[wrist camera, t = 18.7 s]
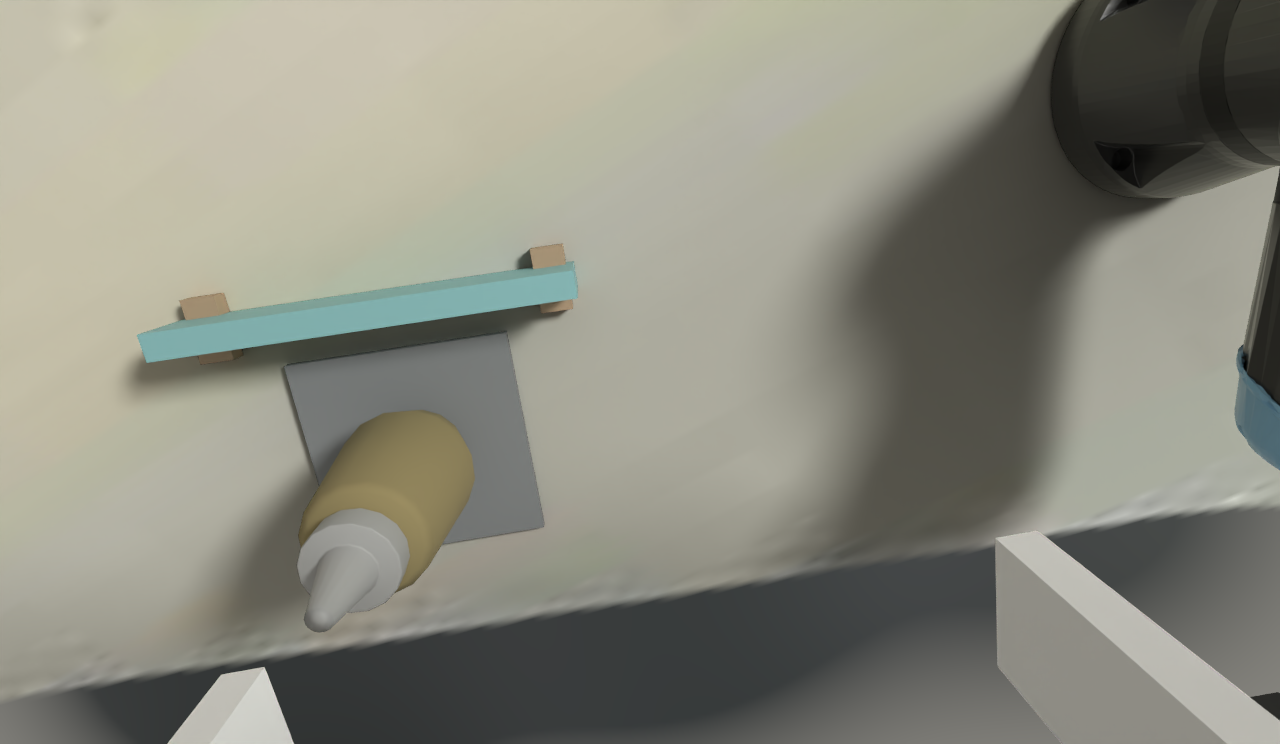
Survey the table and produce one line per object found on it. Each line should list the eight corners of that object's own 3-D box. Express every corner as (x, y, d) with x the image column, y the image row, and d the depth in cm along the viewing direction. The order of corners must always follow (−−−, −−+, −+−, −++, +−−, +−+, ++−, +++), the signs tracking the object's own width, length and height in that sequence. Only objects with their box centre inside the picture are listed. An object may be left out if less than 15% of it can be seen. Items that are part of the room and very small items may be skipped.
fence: (182, 298, 41) (129, 313, 36) (570, 242, 42) (569, 249, 37) (203, 361, 42) (154, 383, 37) (580, 304, 43) (580, 318, 38)
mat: (287, 364, 42) (283, 366, 42) (506, 330, 43) (505, 332, 42) (344, 556, 46) (341, 560, 45) (544, 522, 47) (543, 527, 46)
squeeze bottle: (460, 377, 43) (379, 505, 25) (499, 487, 45) (450, 672, 28) (338, 411, 43) (176, 562, 25) (384, 519, 45) (263, 726, 28)
